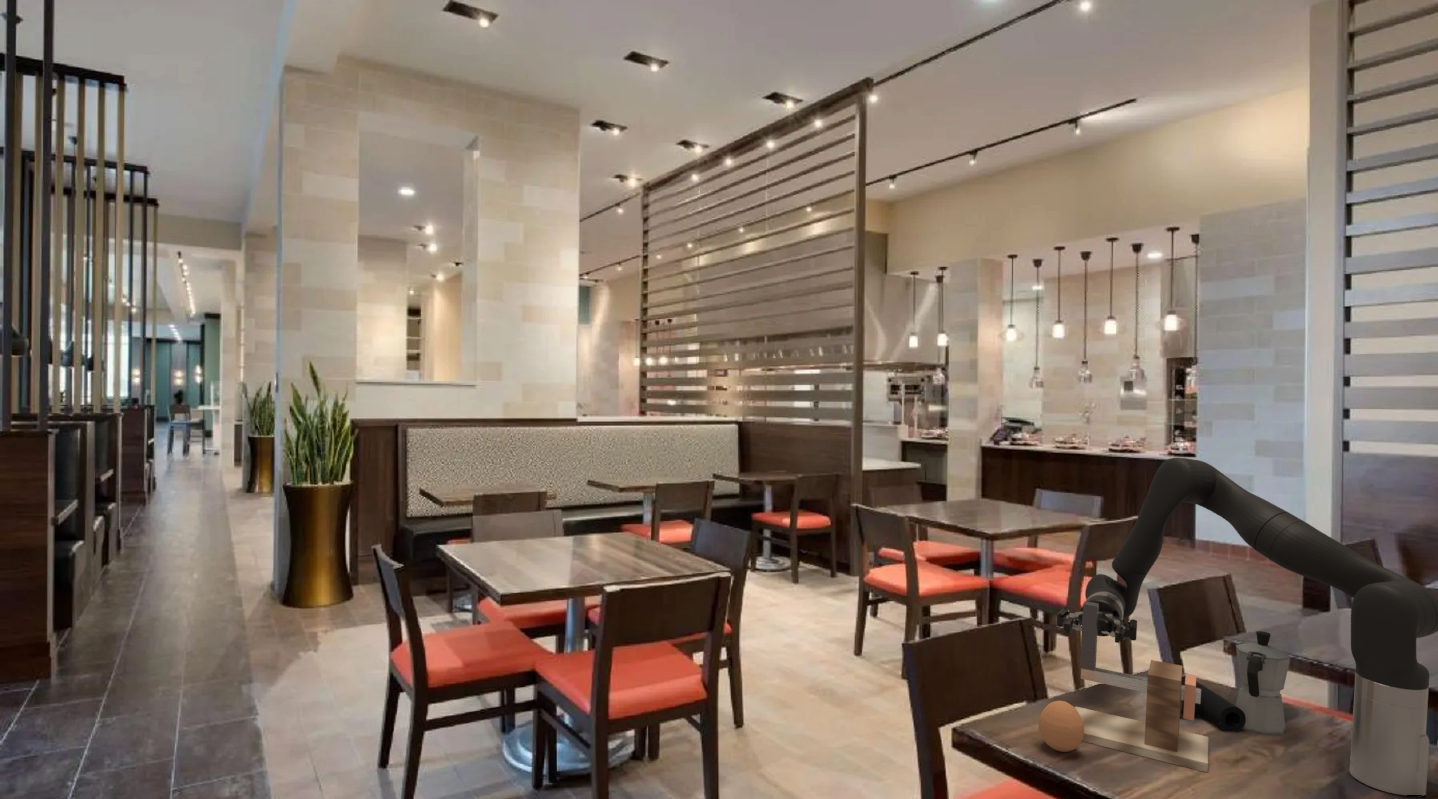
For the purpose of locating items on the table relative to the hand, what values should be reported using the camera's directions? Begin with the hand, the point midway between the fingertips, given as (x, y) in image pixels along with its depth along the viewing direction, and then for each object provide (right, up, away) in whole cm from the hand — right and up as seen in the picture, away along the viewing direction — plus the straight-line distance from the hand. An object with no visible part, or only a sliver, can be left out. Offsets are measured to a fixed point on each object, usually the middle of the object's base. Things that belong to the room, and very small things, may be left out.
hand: (1092, 633), depth 150 cm
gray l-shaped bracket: (+5, -8, -8) cm, 12 cm away
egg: (-11, -17, -12) cm, 24 cm away
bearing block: (+4, -17, -7) cm, 19 cm away
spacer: (+11, -11, -12) cm, 20 cm away
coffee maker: (+32, -18, 0) cm, 37 cm away
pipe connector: (+22, -18, +5) cm, 29 cm away
